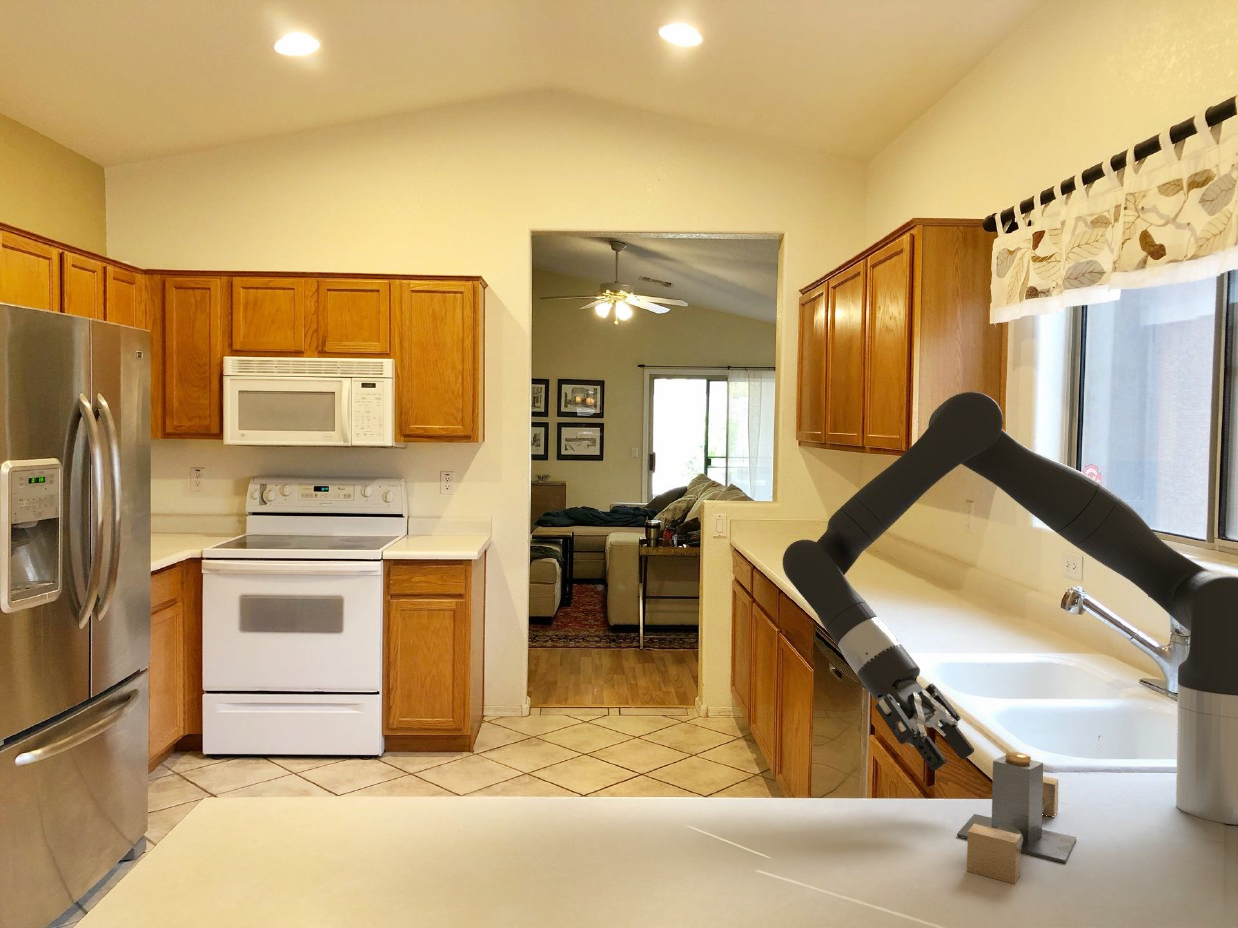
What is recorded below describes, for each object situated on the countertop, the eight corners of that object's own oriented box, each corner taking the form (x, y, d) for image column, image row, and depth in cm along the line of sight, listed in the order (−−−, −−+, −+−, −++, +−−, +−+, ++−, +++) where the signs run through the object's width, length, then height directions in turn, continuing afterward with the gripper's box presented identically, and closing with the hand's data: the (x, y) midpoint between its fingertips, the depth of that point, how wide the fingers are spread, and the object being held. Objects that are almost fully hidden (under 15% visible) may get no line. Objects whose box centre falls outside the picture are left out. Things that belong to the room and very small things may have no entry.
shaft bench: (991, 797, 122) (991, 765, 122) (1086, 818, 115) (1087, 784, 115) (934, 862, 98) (935, 823, 99) (1050, 893, 92) (1051, 851, 92)
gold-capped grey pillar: (991, 833, 107) (993, 754, 107) (1005, 825, 110) (1007, 747, 110) (1028, 845, 104) (1029, 762, 104) (1041, 836, 107) (1043, 756, 107)
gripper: (870, 646, 114) (952, 755, 106) (919, 638, 124) (998, 736, 116) (833, 679, 118) (909, 787, 109) (884, 668, 128) (957, 766, 119)
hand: (955, 761), depth 113 cm, fingers open, 8 cm apart
